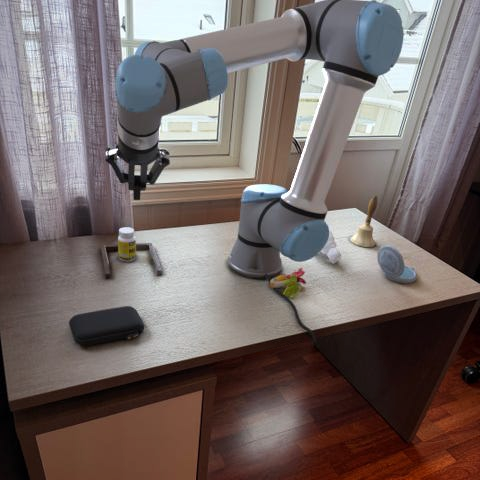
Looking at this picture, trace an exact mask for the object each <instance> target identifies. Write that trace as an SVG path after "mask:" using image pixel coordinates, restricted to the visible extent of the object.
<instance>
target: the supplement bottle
mask: <svg viewBox="0 0 480 480" xmlns="http://www.w3.org/2000/svg"><path fill="white" fill-rule="evenodd" d="M117 244H118V251H117V252H118V259H119V260H120V261H122V262H126V263H127V262H128V263H130V262H132V261H133V262H134V261H135V260H136V259H137V250H136V244H137V237H136V236H135V229H134V228H133V227H128V226H125V227H120V228H119V229H118V237H117Z"/></svg>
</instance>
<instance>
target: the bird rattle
mask: <svg viewBox="0 0 480 480" xmlns="http://www.w3.org/2000/svg"><path fill="white" fill-rule="evenodd" d="M304 275H305V271H304V269H303V268H302V267H300V268H298V269H297V271H294V272H292V273H291V274H287V275H285V274H279V275H277V276H274V277H272V278H270V279H271V281H270V284H269V287H270V288H271V289H273V288H275V287H276V288H277V289H284V291H283V292H282V294H284V295H285V296H286V297H287V298H289V299H294V298H295V297H296V295H297V293H300V292H301V291H302V287H301V286H300V285H299V284H298V283H302V284H304V285H306V284H307V280H305V279H304V278H302V277H303V276H304Z"/></svg>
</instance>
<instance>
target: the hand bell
mask: <svg viewBox="0 0 480 480" xmlns="http://www.w3.org/2000/svg"><path fill="white" fill-rule="evenodd" d="M377 206H378V195H372V197H371V199H370V201H369V202H368V205H367V215H366V219H365V221H364V223H363V224H360V225H359V226H358V229H357V231H356V233H355V234H354V235H352V236H351V237H350V239H349V240H350V243H352V244H353V245H356V246H358V247H362V248H373V247H375V246H376V242H375V240H374V237H373V231H374V227H373V226H371V222H372V218H373V215H374V213H375V211H376V210H377Z"/></svg>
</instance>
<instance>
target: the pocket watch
mask: <svg viewBox="0 0 480 480" xmlns="http://www.w3.org/2000/svg"><path fill="white" fill-rule="evenodd" d="M376 258H377V263H378V266H379V267H380V269H381V271H382V274H383V275H384V276H385V277H386V278H387V279H389V280H391V281H392V282H395V283H399V284H411V283H414V282H416V280H417V278H418V277H417V273H416V272H417V269H416V268H415V267H410V266H407V265H405V262H404V261H405V260H404V258H403V256H402V254H401V252H399V250H398V249H397V248H396V247H394V246H392V245H389V244H388V245H387V244H386V245H383V246H381V247H380V248H379V249H378V251H377V256H376Z"/></svg>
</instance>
